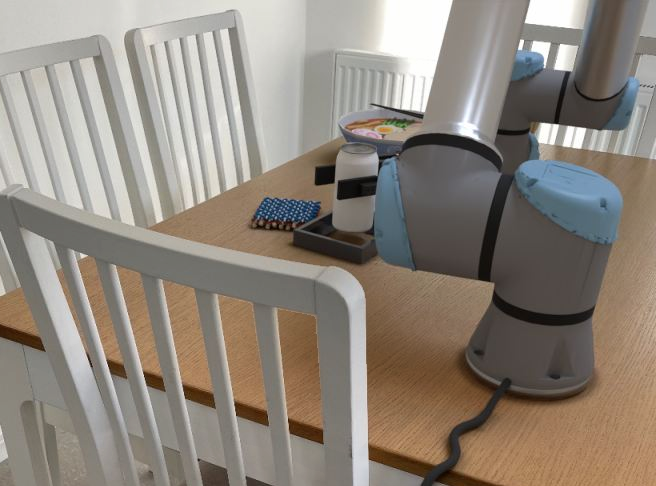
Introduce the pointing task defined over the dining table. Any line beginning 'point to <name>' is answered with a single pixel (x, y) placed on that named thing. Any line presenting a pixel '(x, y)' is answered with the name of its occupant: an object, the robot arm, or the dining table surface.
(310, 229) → the tray
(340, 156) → the can
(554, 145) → the dining table surface
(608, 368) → the dining table surface
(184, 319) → the dining table surface
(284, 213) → the woven mat
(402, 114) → the ramen bowl
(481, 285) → the dining table surface
